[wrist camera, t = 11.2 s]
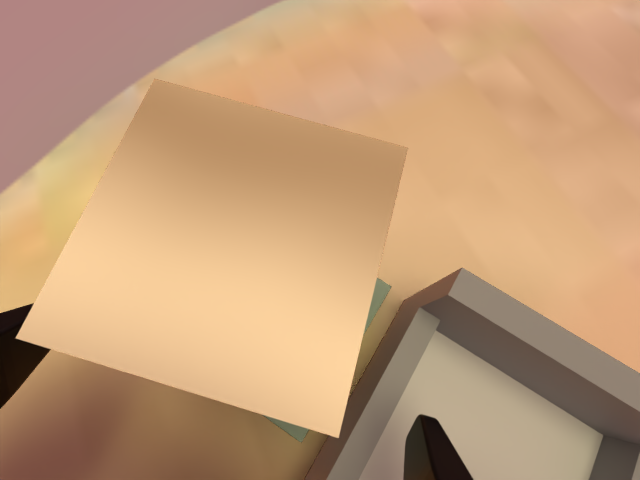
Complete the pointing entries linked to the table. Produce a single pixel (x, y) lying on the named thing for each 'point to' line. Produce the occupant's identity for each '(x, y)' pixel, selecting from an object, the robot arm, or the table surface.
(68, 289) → the birch block
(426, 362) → the tray
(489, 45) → the table surface
